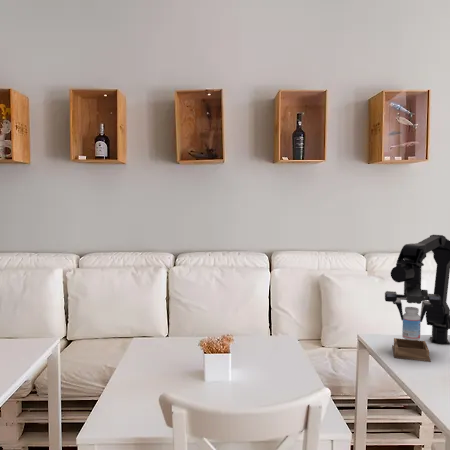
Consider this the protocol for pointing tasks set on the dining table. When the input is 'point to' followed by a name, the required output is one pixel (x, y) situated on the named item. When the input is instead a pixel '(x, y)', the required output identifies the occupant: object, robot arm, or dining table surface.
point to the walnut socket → (411, 350)
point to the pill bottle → (411, 324)
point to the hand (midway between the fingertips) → (411, 320)
